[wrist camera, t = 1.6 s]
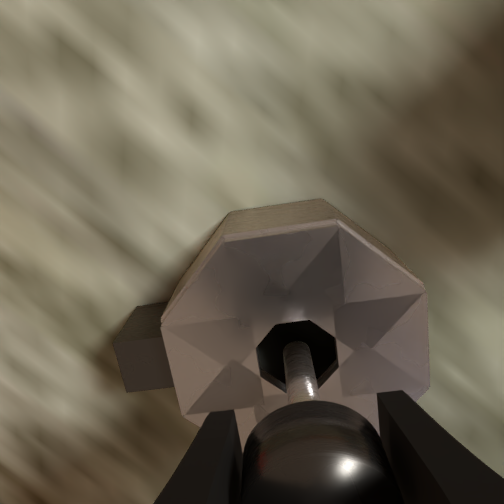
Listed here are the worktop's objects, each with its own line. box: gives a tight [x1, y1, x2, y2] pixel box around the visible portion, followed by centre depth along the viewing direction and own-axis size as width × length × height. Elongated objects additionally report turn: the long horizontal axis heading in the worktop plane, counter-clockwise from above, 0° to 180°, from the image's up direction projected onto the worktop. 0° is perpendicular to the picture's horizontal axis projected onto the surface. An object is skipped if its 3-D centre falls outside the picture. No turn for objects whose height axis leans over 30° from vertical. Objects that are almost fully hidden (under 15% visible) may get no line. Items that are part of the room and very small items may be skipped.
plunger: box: [240, 341, 405, 504], centre depth 11 cm, size 3×3×6 cm
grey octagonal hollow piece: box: [113, 199, 430, 452], centre depth 16 cm, size 9×10×4 cm
